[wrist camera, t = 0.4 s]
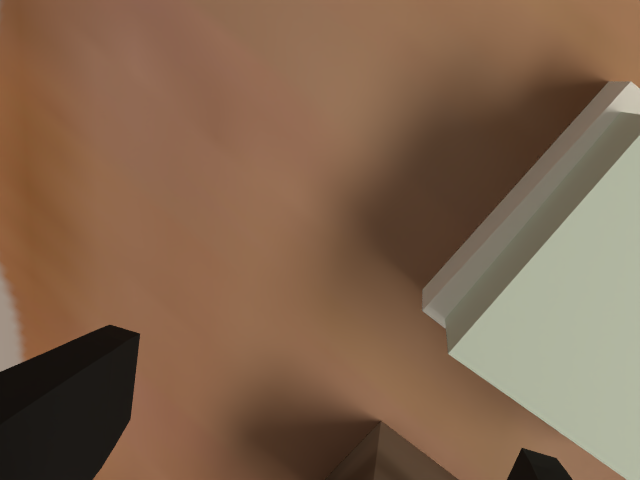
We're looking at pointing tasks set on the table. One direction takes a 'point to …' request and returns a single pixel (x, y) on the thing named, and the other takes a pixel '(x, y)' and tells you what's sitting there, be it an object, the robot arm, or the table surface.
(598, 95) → the tower base slab
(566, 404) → the tower top slab
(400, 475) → the walnut block
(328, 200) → the table surface
